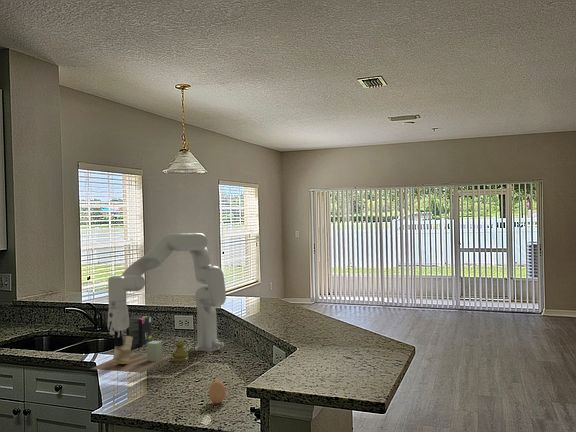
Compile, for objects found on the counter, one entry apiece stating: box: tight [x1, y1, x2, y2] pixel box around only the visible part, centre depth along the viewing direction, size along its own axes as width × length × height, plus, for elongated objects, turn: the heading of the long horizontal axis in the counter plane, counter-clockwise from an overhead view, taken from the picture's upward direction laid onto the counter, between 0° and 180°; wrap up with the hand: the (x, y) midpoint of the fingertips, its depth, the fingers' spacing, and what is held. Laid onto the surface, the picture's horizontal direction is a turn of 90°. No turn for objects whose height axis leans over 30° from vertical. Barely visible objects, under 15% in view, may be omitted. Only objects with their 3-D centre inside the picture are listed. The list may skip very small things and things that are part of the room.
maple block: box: [112, 335, 133, 364], centre depth 238 cm, size 5×5×12 cm
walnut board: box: [89, 352, 173, 374], centre depth 241 cm, size 26×28×1 cm
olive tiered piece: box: [171, 340, 190, 363], centre depth 243 cm, size 7×8×10 cm
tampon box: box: [125, 315, 153, 348], centre depth 279 cm, size 11×9×15 cm
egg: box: [208, 380, 227, 404], centre depth 189 cm, size 6×6×8 cm
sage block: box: [146, 340, 163, 361], centre depth 245 cm, size 5×5×8 cm
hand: (118, 345), depth 235 cm, fingers closed
